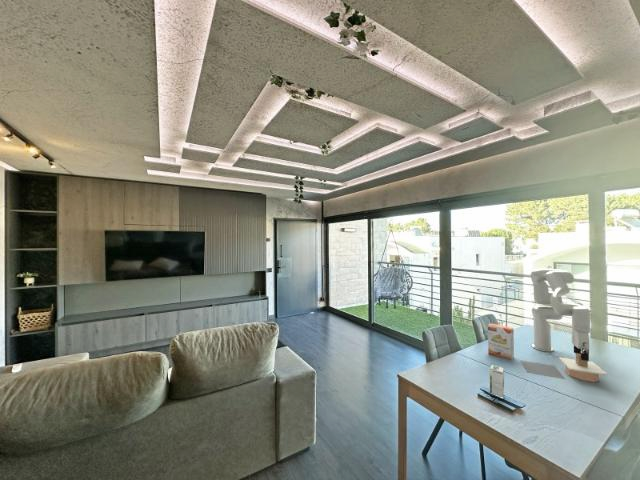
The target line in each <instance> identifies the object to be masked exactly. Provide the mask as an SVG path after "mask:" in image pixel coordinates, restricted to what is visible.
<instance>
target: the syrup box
mask: <svg viewBox="0 0 640 480" xmlns="http://www.w3.org/2000/svg"><path fill="white" fill-rule="evenodd" d="M490 393H491V394H494V395H497V396H499V397H503V398H504V395H505V368H504V367H502V366H498V365H495V364H492V365H490V368H489V394H490Z"/></svg>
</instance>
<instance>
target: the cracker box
mask: <svg viewBox="0 0 640 480" xmlns="http://www.w3.org/2000/svg"><path fill="white" fill-rule="evenodd" d="M514 335H515V334H514V327H509V326H505V325H500V324H496V323H489V324H488V325H487V343H488V344H487V345H488V347H487V349H488V350H487V351H488V354H490V355H493V356H498V357H500V358H504V359H508V360H513V359H514V357H515V356H514V355H515V350H514V349H515V348H514V347H515V346H514V345H515V341H514V340H515V338H514Z"/></svg>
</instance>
